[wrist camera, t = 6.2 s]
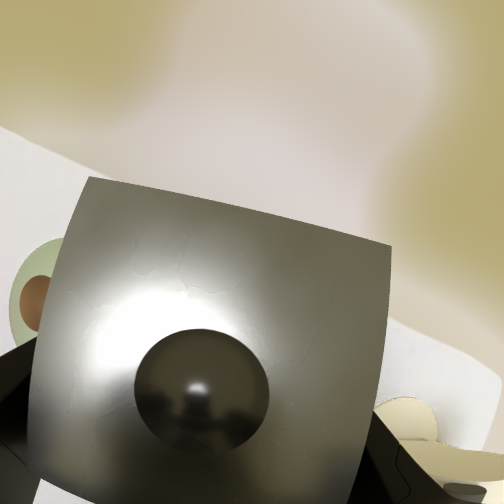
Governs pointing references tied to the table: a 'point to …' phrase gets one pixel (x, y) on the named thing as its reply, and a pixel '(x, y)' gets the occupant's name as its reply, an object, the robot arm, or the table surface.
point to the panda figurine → (443, 453)
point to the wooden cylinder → (33, 300)
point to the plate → (33, 265)
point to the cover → (205, 353)
